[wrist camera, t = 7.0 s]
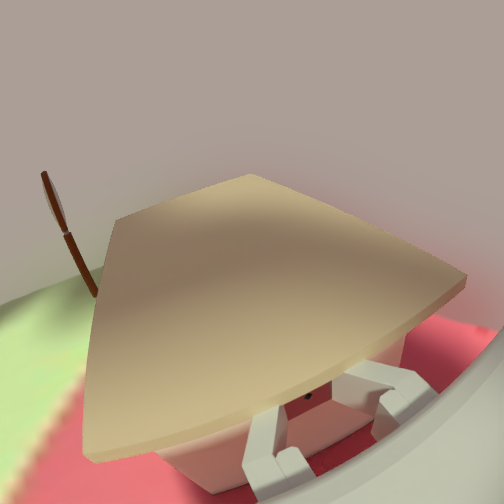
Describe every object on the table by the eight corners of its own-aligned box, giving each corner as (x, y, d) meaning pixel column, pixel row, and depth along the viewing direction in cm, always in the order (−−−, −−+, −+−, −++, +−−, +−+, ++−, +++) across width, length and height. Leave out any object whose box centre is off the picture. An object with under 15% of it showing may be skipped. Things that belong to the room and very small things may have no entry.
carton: (212, 494, 14) (103, 403, 8) (165, 324, 31) (121, 226, 25) (387, 410, 16) (415, 268, 11) (272, 282, 34) (250, 181, 28)
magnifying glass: (90, 292, 41) (38, 174, 31) (98, 287, 42) (49, 169, 32) (100, 316, 34) (36, 174, 25) (111, 310, 35) (48, 167, 26)
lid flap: (95, 463, 6) (82, 454, 5) (117, 226, 25) (115, 220, 25) (464, 288, 9) (467, 274, 8) (252, 179, 28) (251, 173, 28)
